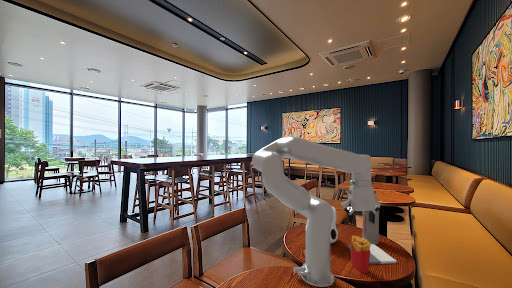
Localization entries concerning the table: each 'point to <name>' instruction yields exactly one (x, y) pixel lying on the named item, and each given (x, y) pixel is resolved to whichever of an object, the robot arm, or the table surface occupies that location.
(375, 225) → the thermos bottle
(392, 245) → the table surface
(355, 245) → the french fries
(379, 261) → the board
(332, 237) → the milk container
